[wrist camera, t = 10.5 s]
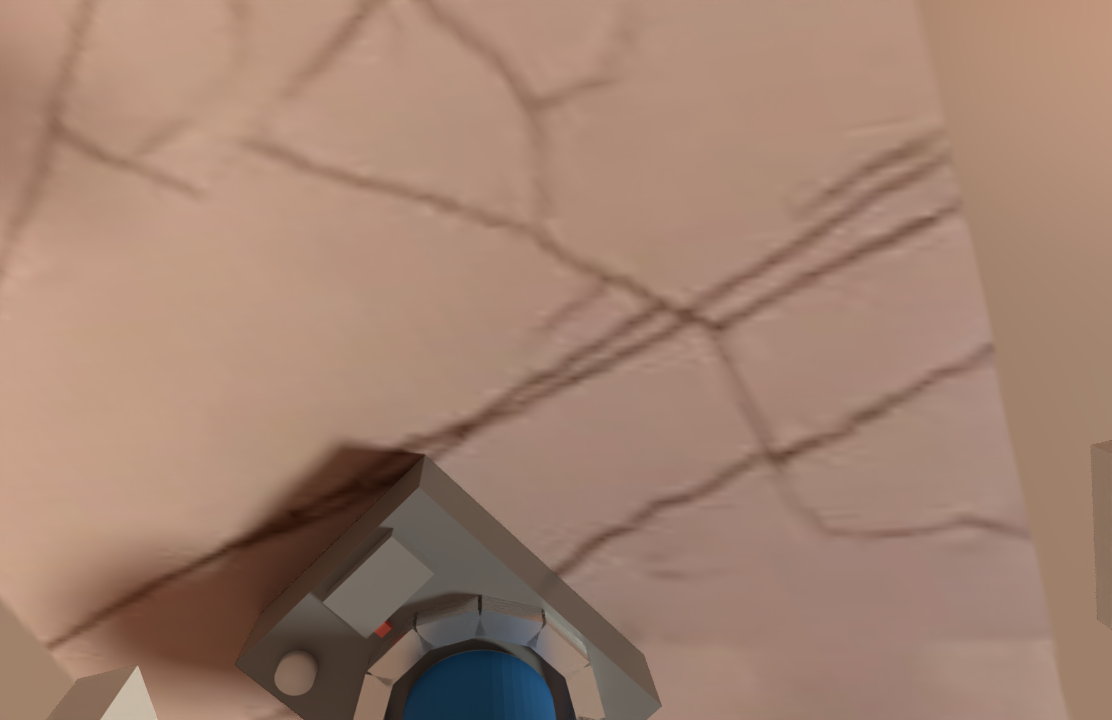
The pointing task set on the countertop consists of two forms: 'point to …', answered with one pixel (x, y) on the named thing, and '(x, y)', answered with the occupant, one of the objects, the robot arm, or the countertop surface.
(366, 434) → the countertop surface
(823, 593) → the countertop surface
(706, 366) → the countertop surface
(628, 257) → the countertop surface
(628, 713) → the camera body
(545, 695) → the beverage can
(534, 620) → the mount ring
